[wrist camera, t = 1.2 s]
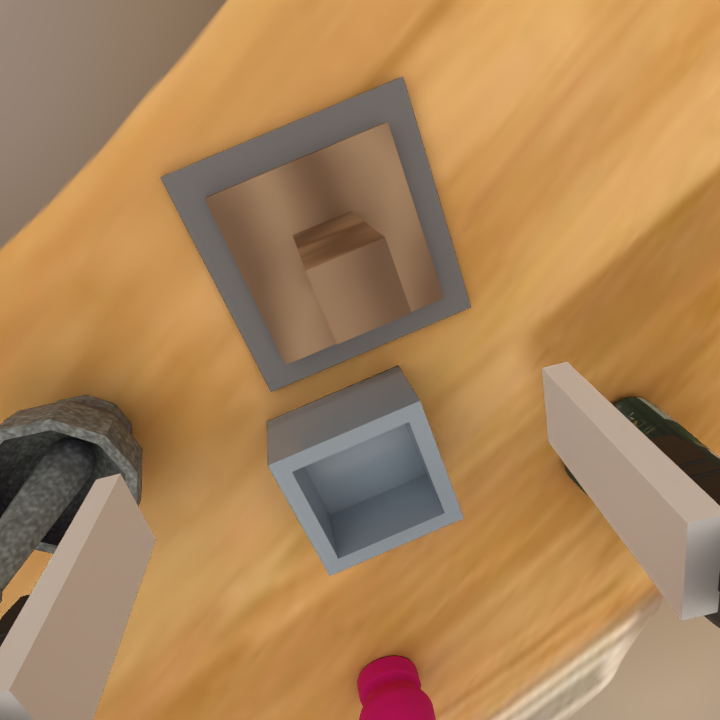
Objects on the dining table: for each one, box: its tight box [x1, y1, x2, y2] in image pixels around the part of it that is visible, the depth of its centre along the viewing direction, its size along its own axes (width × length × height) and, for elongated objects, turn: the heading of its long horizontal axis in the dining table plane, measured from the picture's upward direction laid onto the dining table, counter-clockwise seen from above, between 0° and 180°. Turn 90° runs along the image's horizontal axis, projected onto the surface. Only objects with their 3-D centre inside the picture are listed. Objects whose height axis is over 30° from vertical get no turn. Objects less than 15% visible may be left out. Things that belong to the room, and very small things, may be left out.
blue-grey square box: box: [267, 366, 464, 576], centre depth 40 cm, size 11×11×6 cm
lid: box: [205, 122, 444, 365], centre depth 30 cm, size 12×12×11 cm
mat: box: [160, 77, 471, 392], centre depth 36 cm, size 16×16×1 cm
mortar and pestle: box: [0, 395, 142, 603], centre depth 33 cm, size 11×9×12 cm
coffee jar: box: [565, 397, 720, 628], centre depth 39 cm, size 10×8×19 cm
